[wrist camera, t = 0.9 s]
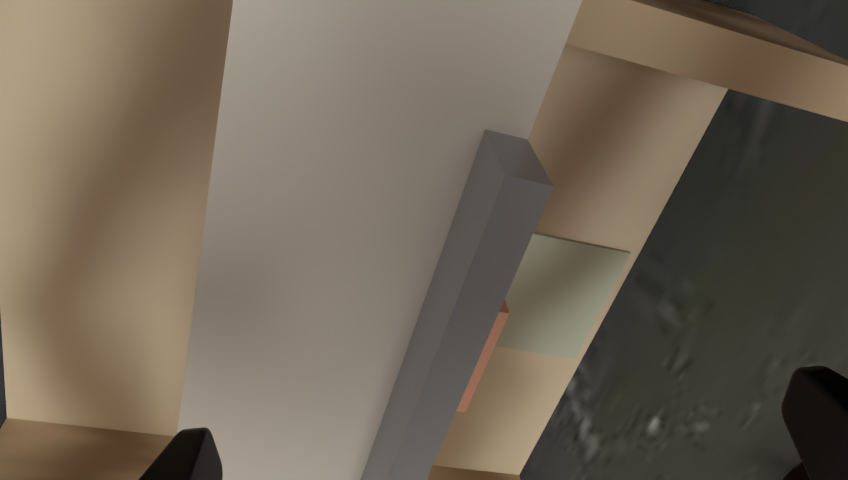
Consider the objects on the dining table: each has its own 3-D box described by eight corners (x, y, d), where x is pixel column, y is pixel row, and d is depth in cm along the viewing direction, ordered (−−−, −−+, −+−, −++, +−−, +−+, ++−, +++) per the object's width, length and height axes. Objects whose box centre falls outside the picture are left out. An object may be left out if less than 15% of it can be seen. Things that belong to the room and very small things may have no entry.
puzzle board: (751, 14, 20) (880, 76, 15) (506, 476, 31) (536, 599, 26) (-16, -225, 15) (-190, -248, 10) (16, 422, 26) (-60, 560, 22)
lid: (577, -15, 13) (625, 21, 11) (341, 594, 24) (340, 676, 22) (252, -112, 12) (227, -96, 9) (159, 583, 23) (137, 670, 21)
